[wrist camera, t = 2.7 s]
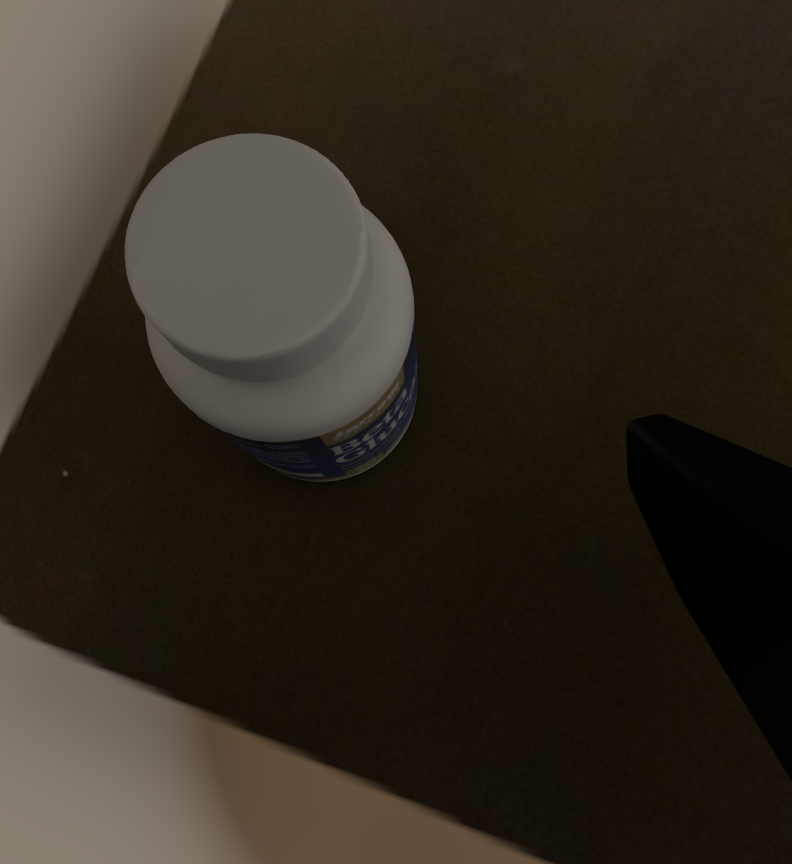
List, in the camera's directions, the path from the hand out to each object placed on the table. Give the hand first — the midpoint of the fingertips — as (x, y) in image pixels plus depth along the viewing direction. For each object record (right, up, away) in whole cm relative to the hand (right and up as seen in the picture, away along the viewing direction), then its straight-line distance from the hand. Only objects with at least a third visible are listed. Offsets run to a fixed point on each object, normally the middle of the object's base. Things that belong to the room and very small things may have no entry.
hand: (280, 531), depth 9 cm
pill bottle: (-1, +2, +12) cm, 13 cm away
